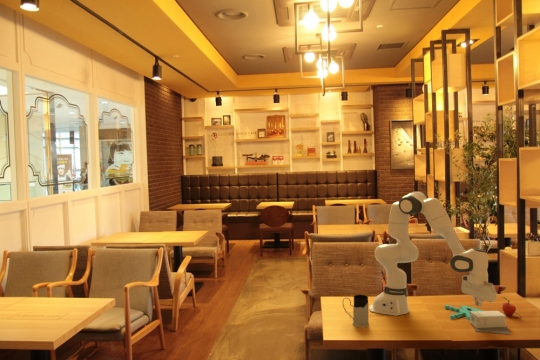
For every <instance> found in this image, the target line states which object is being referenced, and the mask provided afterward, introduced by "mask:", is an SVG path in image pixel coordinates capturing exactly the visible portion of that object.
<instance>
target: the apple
mask: <svg viewBox="0 0 540 360" xmlns="http://www.w3.org/2000/svg"><path fill="white" fill-rule="evenodd" d="M503 299H504V300H506V301H507V302H503V303H502V306H501V307H502V308H501V309H502V311H503V314H504V315H505V316H506V317H507V316H509V317H512V316H513V315H514V314H515V312H516V310H517V308H516V306H515V305H514V304H512V303H510V300H508V298H507V297H503Z"/></svg>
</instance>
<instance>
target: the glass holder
mask: <svg viewBox="0 0 540 360" xmlns="http://www.w3.org/2000/svg"><path fill="white" fill-rule="evenodd" d="M345 299H348V301H349V303H350V307H353V311H352V312H353V313H352V314H353V316H352V315H351V314H350V313H349V312H348V311H347V309H346V308H345V305H344V304H345V303H342V307H343V309H344V312H345V313H347V315H348V316H349V317H350V318H352V321H353V322H352V326H353V327H355V328H367V326H368V327H369V326H370V323H369V296H367V295H365V294H355V295H353V305H352V301H351V299H350V298H349V297H344V298H343V299H342V301H345Z"/></svg>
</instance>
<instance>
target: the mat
mask: <svg viewBox="0 0 540 360" xmlns="http://www.w3.org/2000/svg"><path fill="white" fill-rule="evenodd" d="M473 327H474V329H475V332H476V333H477V332H478V333H486V332H487V333H489V334H497V335H498V334H501V335H510V336H511V335H512V334H511V332H510V330H509V328H508V326H507V325H506V327H496V328H476V327H475V326H473Z"/></svg>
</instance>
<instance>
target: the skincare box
mask: <svg viewBox="0 0 540 360" xmlns="http://www.w3.org/2000/svg"><path fill="white" fill-rule="evenodd" d="M469 324H471V325H472V326H473V327H474V326H475V327H476V328H496V327H506V326H507V315H505V313H504V312H501V311H499V310H484V311H470V320H469ZM475 327H474V328H475Z"/></svg>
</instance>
